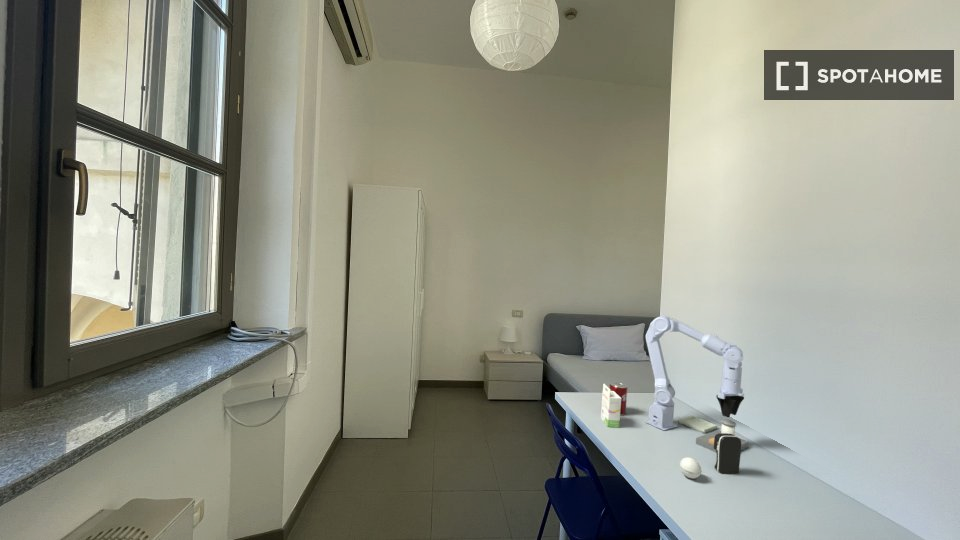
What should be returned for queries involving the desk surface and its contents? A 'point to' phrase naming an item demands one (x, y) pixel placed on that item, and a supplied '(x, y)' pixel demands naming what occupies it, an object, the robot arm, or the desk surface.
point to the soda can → (620, 394)
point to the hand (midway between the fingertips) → (729, 415)
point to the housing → (705, 443)
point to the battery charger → (727, 453)
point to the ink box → (610, 408)
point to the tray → (698, 424)
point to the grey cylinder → (728, 426)
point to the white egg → (690, 468)
